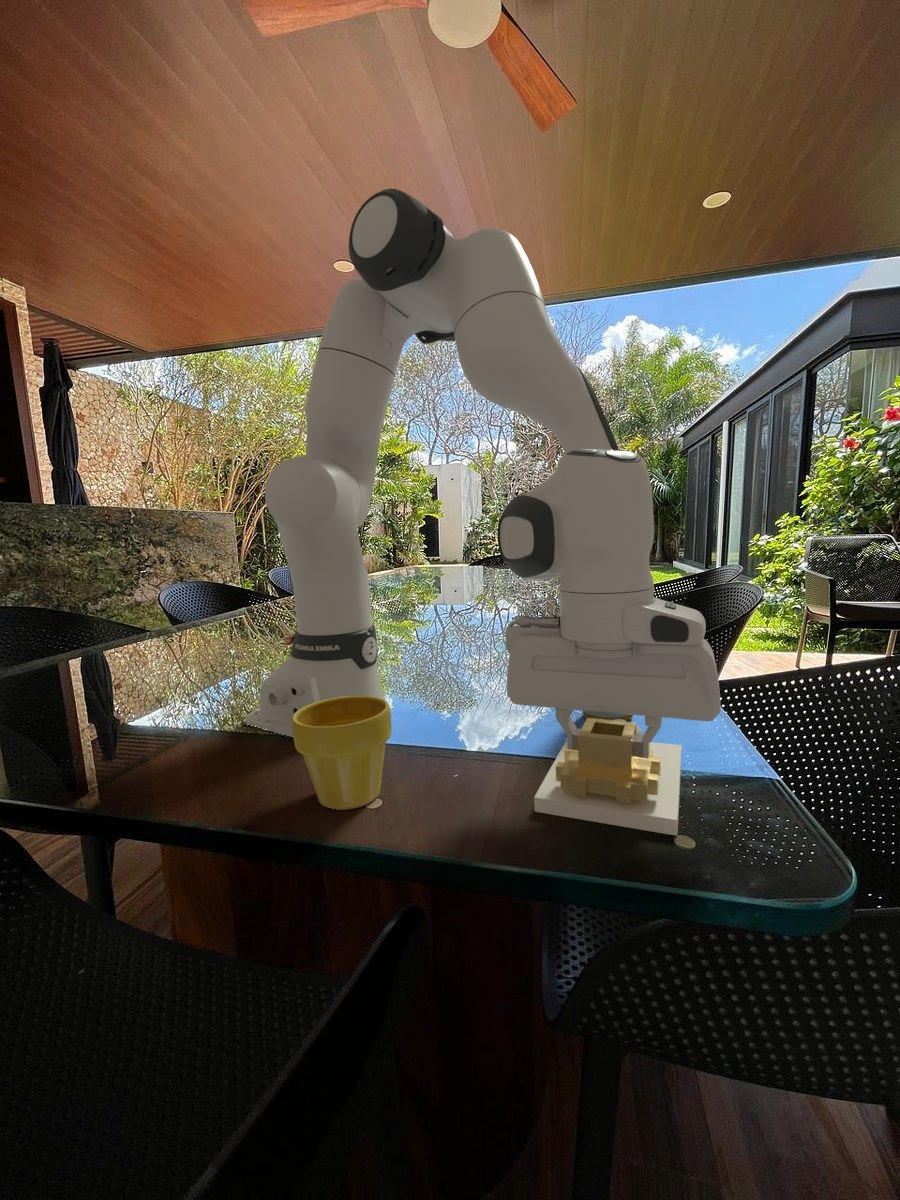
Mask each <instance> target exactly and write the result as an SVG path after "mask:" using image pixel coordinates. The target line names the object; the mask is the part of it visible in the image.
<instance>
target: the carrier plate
mask: <svg viewBox="0 0 900 1200" xmlns="http://www.w3.org/2000/svg"><path fill="white" fill-rule="evenodd" d="M615 721H625V720H622V719H615ZM625 722H627V721H625ZM636 728H637V735H643V734H644V733H643V729H642V728H641V727H640V726H638V725H636ZM566 747H567V739H566V740H565V742H564V744H563V746H562V747H561V749H560V751H559V752H558V754H557V755H556V758H555V760H554V761H553V763H552V765H551V767H550V768H549V770H548V771H547V774H546V775H545V778H544V779H543V781H542V783H541V784H540V786H539V788H538V790H537V791H536V793H535V795H534V797H533V799H534V800H533V802H534V812H536V813H542V814H547V815H553V816H559V817H563V818H564V817H565V818H570V819H577V820H583V821H588V822H593V823H599V824H605V825H613V826H618V827H623V828H629V829H636V830H641V831H645V832H646V831H647V832H652V833H653V832H654V833H658V834H664V835H671V836H677V837H678V831H679V815H680V814H679V812H680V811H679V809H680V797H679V796H681V795H680V791H681V778H680V777H682V760H681V758H682V755H683V753H682V751H683V750H682V747H683V745H682V744H674V743H673V744H672V743H665V742H664V743H663V742H653V741H651V742H650V750H652V751H653V756H655V757H661V773H660V776H658V795H651V794H648V800H647V801H641V800H635V799H631V803H626V802H619V801H617V797H615V796H608V795H602V794H595V793H587V796H580V795H574V794H573V790H568V789H562V788H561V781H556V765H557V763H558V762H565V757H564V750H565V748H566Z"/></svg>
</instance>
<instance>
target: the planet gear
mask: <svg viewBox="0 0 900 1200" xmlns="http://www.w3.org/2000/svg"><path fill="white" fill-rule="evenodd" d="M636 726H637V722H634V721H633V722H632V721H628V722H625V721H615V720H604V719H593V718H586V719H585V721H584V723H583V724H582V727H581V728H580V729H581V731H580V733H579V735H578V750H570V749H568V747H566V748H565V750H564V757H565V762H558V763H557V765H556V781H561V788H562V789H568V790H573V794H574V795H580V796H587V793H595V794H602V795H608V796H615V797H617V801H619V802H626V803H631V799H635V800H641V801H647V800H648V794H651V795H658V776H660V773H661V757H655V756H653V751H652V750H650V756H649V759H645V758H637V757H633V751H634V749H633V740H634V736H635V735H637V728H636Z"/></svg>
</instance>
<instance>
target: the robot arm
mask: <svg viewBox="0 0 900 1200" xmlns="http://www.w3.org/2000/svg"><path fill="white" fill-rule="evenodd" d="M349 231H350V232H349V235H348V253H349V259H350V261H351V263H352V265H353V267H354V269H355V270H356V271H357V273H358V274H359V276H360V277H356V278H352V279H350V280H348V281H347V282H345V283H344V284H343V285H342V286H341V288H340V289H339V292H338V294H337V296H336V297H335V300H334V302H333V305H332V307H331V309H330V311H329V315H328V317H327V319H326V320H327V321H326V323H325V325H324V327H323V328H324V329H323V331H322V336H321V339H320V342H319V347H318V351H317V355H316V359H315V362H314V363H315V364H314V368H313V372H312V377H311V380H310V385H309V389H308V393H307V398H306V401H305V407H304V409H305V411H304V413H305V419H306V440H305V441H306V442H305V444H306V445H305V455H304V454H303V455H298V456H293V457H291V458H287V459H285V460H283V461H281V462H280V463H279V464H277V465H275V467H274V468H273V469H272V470H271V472H270V474H269V475H268V477H267V480H266V482H265V487H264V499H265V500H264V501H265V504H266V506H267V510H268V512H269V513H270V515H271V517H272V518H273V520H274V522H275V524H276V526H277V530H278V534H279V538H280V541H281V544H282V547H283V551H284V555H285V558H286V560H287V565H288V569H289V573H290V576H291V577H290V578H291V581H292V582H291V583H292V587H293V596H294V597H293V598H294V606H295V615H296V617H295V619H296V625H297V631H296V632H295V633H294V634H293V635H291V636H288V637H287V636H286V637H284V638H283V641H285V640H289V641H286V642H285V643H284V644H283V645H284V646H285V647H286V646H288V645H291V649H290V654H289V655H290V656H289V657H288V658H287V659H286V660H285V661H284V662H283V663H282V664H281V665H280V666H279V667H278V668H276V669H275V670H274V671H273V672H272V673H271V674H270V675H269V676H268V677H266V679H264V681H263V682H262V684H261V686H260V691H259V707H258V708H256V709H254V710H253V711H251V712H250V713H249V714H248V715H246V716H245V719H244V721H245V722H246V723H249V724H252V725H255V726H257V727H260V728H264V729H267V730H269V731H273V732H275V733H274V734H276V733H278V734H277V735H279V734H283V735H287V736H290V737H293V729H292V716H293V715H294V713H295V712H296V711H298V710H299V709H301V708H303V707H305V706H307V705H309V704H312V703H315V702H318V701H322V700H326V699H331V698H336V697H344V696H373V697H378V698H381V699H384V700H385V701H387V700H386V698H385V694H384V692H383V688H382V684H381V679H380V674H379V669H378V662H377V660H378V642H377V633H376V632H377V631H376V626H375V625H374V624H373V619H372V616H373V615H372V608H371V607H372V605H371V592H370V581H369V580H370V579H369V572H368V570H367V567H366V565H365V560H364V557H363V556H364V555H363V552H362V551H363V550H362V546H361V543H360V536H359V531H358V528H360V527H361V525H362V524H363V523H364V521H365V520H366V518H367V516H368V515H369V511H370V504H371V500H372V494H373V488H374V482H375V477H376V470H377V464H378V456H379V450H380V441H381V437H382V436H381V435H382V430H383V425H384V422H385V418H386V414H387V410H388V408H389V407H388V406H389V403H390V398H391V394H392V390H393V387H394V383H395V378H396V374H397V371H398V367H399V366H398V365H399V361H400V358H401V355H402V351H403V348H404V346H405V344H406V342H407V341H408V340H409V339H410V338H411V337H413V336H415V337H416V339H418V341H420V342H421V343H422V344H424V345H426V344H427V345H430V344H433V343H436V342H440V341H441V342H455V345H456V351H457V354H458V358H459V359H458V360H459V362H460V365H461V369H462V370H463V373H464V375H465V377H466V380H467V381H468V382H469V384H470V386H471V387H472V389H474V390H475V392H477V393H478V394H479V395H480V396H482V397H483V398H484V399H486V400H487V401H488V402H491V403H492V404H495V405H497V406H500V407H502V408H505V409H507V410H511V411H514V412H516V413H519V414H520V415H523V416H525V417H528V418H530V419H531V420H533V421H535V422H537V423H539V424H541V425H542V426H544V427H545V429H548V430H549V431H550V432H551V433H552V434H553V435H554V436H555V437H556V439H557V440H558V441H559V444H560V445H561V448H562V450H563V453H564V454H563V455H562V456H561V457H560V459H559V461H558V464H557V466H556V468H555V470H554V472H553V473H552V474H551V475H550V476H549V477H548V478H546V480H545V481H543V482H542V483H540V484H539V485H537V486H536V487H535V488H533V489H531V490H529V491H528V492H525V493H524V494H519V495H517V496H515V497H513V498H512V500H510V502H508V504H507V505H506V506H505V508H504V509H503V511H502V513H501V514H500V517H499V520H498V522H497V523H498V525H497V546H498V550H499V554H500V557H501V558H502V560H503V562H504V563H505V565H506V566H507V567H508V568H509V570H511V571H512V572H513V574H515V575H516V576H518V577H519V578H522V579H529V580H545V579H546V580H548V579H557V578H558V579H559V587H558V590H559V591H558V593H559V594H558V595H559V596H558V597H559V616H553V615H552V616H546V615H544V616H531V615H521V616H518V617H517V619H515V620H512V621H511V622H509V624H508V625H507V627H506V628H505V648H506V650H507V651H506V652H508V654H509V657H508V664H507V672H506V694H507V695H506V696H508V698H509V699H510V701H511V702H512V703H513V704H514V705H518V706H528V707H529V706H530V707H531V706H532V707H540V708H553V709H555V710H554V711H555V718H556V721H557V722H558V724H559V725H560V727H561V729H562V730H563V732H564V733H565V734H566V740H567V747H568V749H570V750H578V735H579V733H580V731H581V729H582V728H577V726H576V724H575V723H574V721H573V718H572V717H571V715H572V714H573V712H574V710H575V711H582V710H584V711H595V712H606V713H617V714H629V715H633V716H643V717H644V726H646V727H647V729H646V730H645V731H644V733H643V735H635V736H634V740H633V749H634V751H633V757H637V758H645V759H649V756H650V742H653V741H652V740H654V738H655V736H656V735H657V734H658V732H659V731H660V729H661V727H662V719H663V718H665V719H674V720H675V719H676V720H685V721H695V722H696V721H698V722H712V721H713V720H714V719H716V718H717V717H718V716H719V715H720V713H721V711H722V709H721V693H720V691H721V690H720V682H719V675H718V669H717V663H716V660H715V654H714V652H713V649H712V647H711V644H710V643H709V642H708V641H707V640H706V639H705V638H704V637H705V635H706V629H707V628H706V626H707V625H706V623H707V622H706V619H705V617H704V616H703V613H701V611H699V610H697V609H694V608H691V607H688V606H685V605H681V604H677V603H674V602H671V601H668V600H663V599H661V598H658V597H655V584H654V578H653V576H652V572H651V567H650V557H651V551H652V547H653V544H654V540H655V534H656V524H655V517H654V503H653V501H654V500H653V492H652V485H651V480H650V479H651V478H650V474H649V470H648V468H647V464H646V462H645V460H644V459H643V457H642V456H640V455H639V454H637V453H636V452H635V451H630V450H623V449H619V447H618V444H617V442H616V440H615V436H614V434H613V431H612V430H611V427H610V425H609V423H608V419H607V417H606V415H605V413H604V410H603V408H602V405H601V404H600V401H599V399H598V397H597V394H596V392H595V390H594V388H593V385H592V384H591V382H590V381H589V379H588V377H587V375H586V374H585V373H584V372H583V371H582V369H581V368H580V367H579V366H578V365H577V364H575V362H574V361H573V360H572V358H571V356H570V355H569V354H568V352H567V351H566V349H565V348H564V346H563V344H562V342H561V341H560V338H559V337H558V335H557V333H556V332H555V330H554V328H553V325H552V322H551V320H550V318H549V314H548V312H547V309H546V303H545V301H544V300H545V299H544V296H543V294H542V290H541V287H540V285H539V282H538V279H537V277H536V275H535V274H536V273H535V271H534V269H533V267H532V265H531V261H530V260H529V257H528V256H527V254H526V252H525V251H524V249H523V246H522V245H521V243H520V242H519V241H518V239H517V238H516V237H515V236H514V235H512V234H511V233H510V232H508V231H506V230H503V229H499V228H495V227H494V228H492V227H490V228H483V229H479V230H476V231H474V232H472V233H470V234H469V235H467V236H465V237H464V238H463V237H462V238H458V237H456V235H455V234H454V233H452V231H449V229H448V228H447V227H446V226H445V225H444V220H443V218H442V217H440V216H439V215H438V214H437V213H436V212H434V211H433V210H431V209H430V208H429V207H428V206H427V205H426V204H424V203H423V202H422V201H420V200H418V199H417V198H415V197H414V196H412V195H410V194H408V193H407V192H404V191H402V190H400V189H396V188H386V189H382V190H380V191H378V192H376V193H374V194H373V195H372V196H370V197H368V198H367V200H366V201H364V203H362V205H361V206H360V208H359V209H358V211H357V212H356V214H355V216H354V218H353V221H352V224H351V227H350V230H349ZM245 722H244V723H245ZM269 731H268V732H269ZM283 735H282V736H283ZM287 736H286V737H287ZM290 737H289V738H290ZM292 739H294V737H293V738H292Z"/></svg>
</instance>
